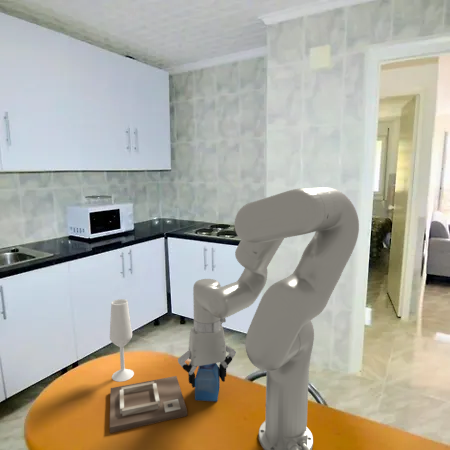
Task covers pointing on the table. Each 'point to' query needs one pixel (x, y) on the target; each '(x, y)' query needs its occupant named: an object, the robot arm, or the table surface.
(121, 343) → the champagne flute
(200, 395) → the perfume bottle
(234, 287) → the robot arm
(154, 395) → the board
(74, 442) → the table surface
